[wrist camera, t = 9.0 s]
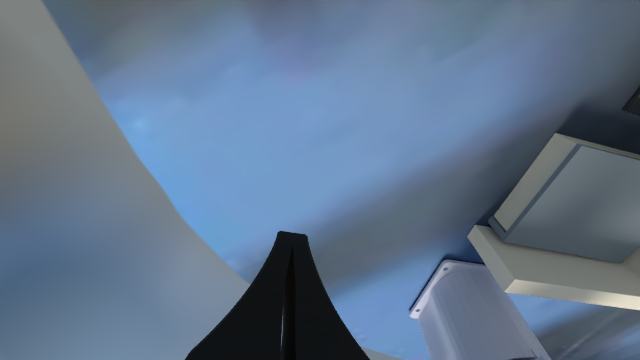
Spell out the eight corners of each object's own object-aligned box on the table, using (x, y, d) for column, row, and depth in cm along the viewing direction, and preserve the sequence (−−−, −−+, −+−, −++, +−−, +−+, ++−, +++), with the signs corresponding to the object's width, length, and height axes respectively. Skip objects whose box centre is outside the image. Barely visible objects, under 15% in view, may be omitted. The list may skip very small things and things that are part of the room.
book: (592, 239, 28) (620, 263, 25) (484, 218, 26) (503, 241, 23) (673, 161, 23) (718, 180, 20) (549, 128, 21) (582, 145, 19)
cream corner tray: (603, 258, 28) (667, 313, 23) (466, 236, 26) (503, 291, 21) (747, 125, 21) (887, 164, 16) (571, 80, 19) (667, 108, 14)
